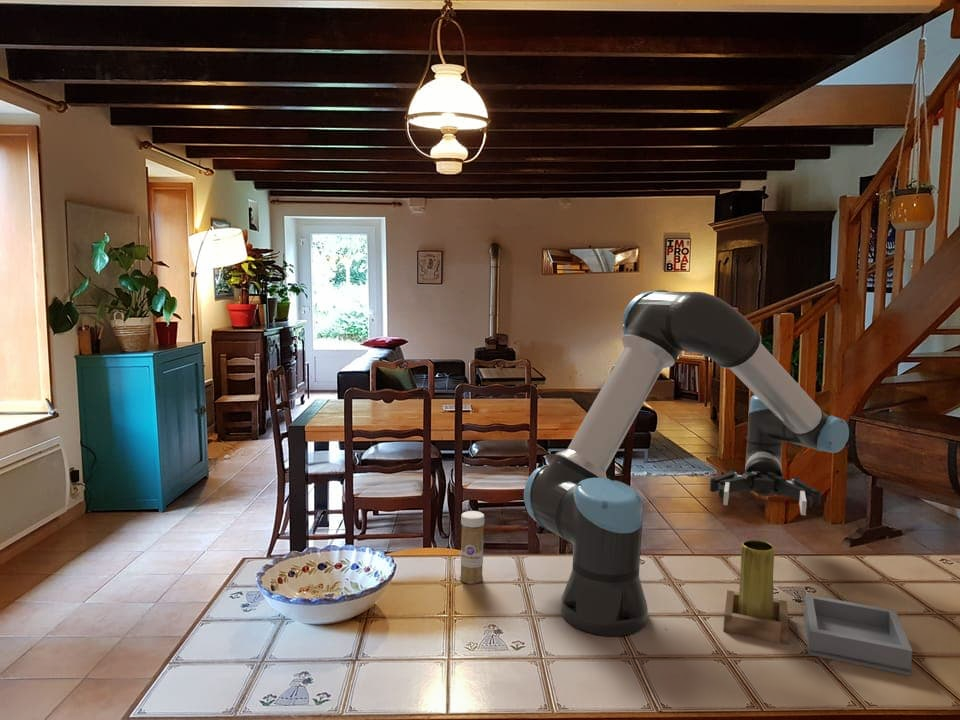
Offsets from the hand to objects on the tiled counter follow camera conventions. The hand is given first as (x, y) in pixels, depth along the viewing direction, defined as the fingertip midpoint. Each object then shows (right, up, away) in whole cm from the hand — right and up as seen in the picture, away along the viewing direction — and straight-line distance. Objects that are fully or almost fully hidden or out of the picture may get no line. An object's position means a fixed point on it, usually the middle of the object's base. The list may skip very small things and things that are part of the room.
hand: (763, 503), depth 126 cm
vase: (-5, -19, -9) cm, 22 cm away
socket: (-5, -19, -9) cm, 22 cm away
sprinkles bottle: (-55, -17, +6) cm, 58 cm away
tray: (+8, -20, -15) cm, 26 cm away
